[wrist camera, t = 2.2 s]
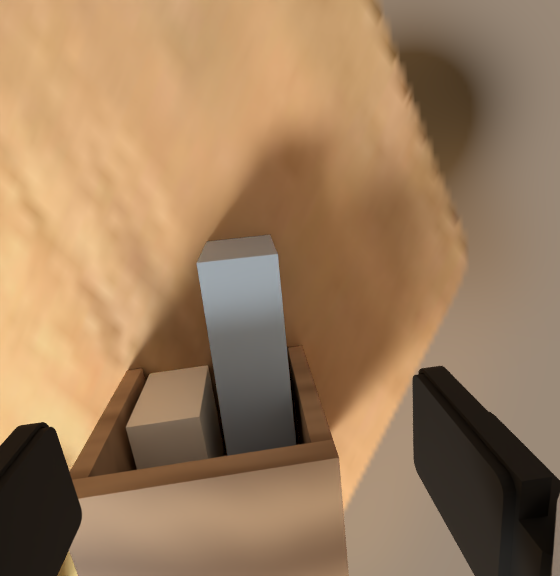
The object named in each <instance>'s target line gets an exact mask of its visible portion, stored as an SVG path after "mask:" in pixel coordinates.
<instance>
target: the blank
mask: <svg viewBox="0 0 560 576" xmlns="http://www.w3.org/2000/svg"><path fill="white" fill-rule="evenodd" d="M197 269H198V275H199V281H200V288H201V294H202V300H203V306H204V313H205V319H206V325H207V331H208V338H209V344H210V350H211V357H212V363H213V369H214V375H215V382H216V388H217V394H218V400H219V407H220V413H221V419H222V425H223V432H224V438H225V444H226V450H227V456H229V455H236V454H242V453H248V452H255V451H261V450H268V449H274V448H281V447H287V446H294V445H296V437H295V427H294V417H293V406H292V396H291V386H290V375H289V365H288V355H287V344H286V334H285V324H284V313H283V303H282V292H281V282H280V272H279V261H278V253H277V251H276V248H275V246H274V243H273V241H272V238H271V236H270V235H262V236H253V237H243V238H234V239H225V240H215V241H207V242H206V244H205V246H204V248H203V250H202V252H201V255H200V257H199V259H198V261H197Z"/></svg>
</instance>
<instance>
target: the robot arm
mask: <svg viewBox="0 0 560 576" xmlns="http://www.w3.org/2000/svg"><path fill="white" fill-rule="evenodd" d="M413 446H414V464H415V467H416V470H417V473H418V475H419V477H420V478H421V480H422V482H423V484H424V486H425V487H426V489H427V491H428V493H429V495H430V496H431V498H432V500H433V502H434V504H435V505H436V507H437V509H438V511H439V512H440V514H441V516H442V518H443V520H444V521H445V523H446V525H447V527H448V529H449V530H450V532H451V534H452V536H453V537H454V539H455V541H456V543H457V545H458V546H459V548H460V550H461V552H462V554H463V555H464V557H465V559H466V561H467V563H468V564H469V566H470V568H471V570H472V571H473V573H474V575H475V576H560V480H559V479H558V478H557V477H556V476H555V475H554V474H553V473H552V472H551V471H550V470H549V469H548V468H547V467H546V466H545V465H544V464H543V463H542V462H541V461H540V460H539V459H538V458H537V457H536V456H535V455H534V454H533V453H532V452H531V451H530V450H529V449H528V448H527V447H526V446H525V445H524V444H523V443H522V442H521V441H520V440H519V439H518V438H517V437H516V436H515V435H514V434H513V433H512V432H511V431H510V430H509V429H508V428H507V427H506V426H505V425H504V424H503V423H502V422H500V420H499V419H498V418H497V417H496V416H495V415H493V414H492V413H491V412H488V411H487V410H486V409H485V408H484V407H483V406H482V405H481V404H480V403H479V402H478V401H477V400H476V399H475V398H474V397H473V396H472V395H471V394H470V393H469V392H468V391H467V390H466V389H465V388H464V387H463V386H462V385H461V384H460V383H459V382H458V381H457V380H456V379H455V378H454V377H453V375H451V374H450V372H449V371H448V370H447V369H446V368H445V367H443V366H436V367H430V368H422V369H420V370H419V374H418V375H414V376H413ZM81 520H82V509H81V506H80V503H79V500H78V497H77V494H76V491H75V487H74V484H73V481H72V478H71V475H70V472H69V469H68V466H67V463H66V460H65V457H64V454H63V451H62V448H61V445H60V442H59V439H58V436H57V433H56V430H55V429H54V428H53V427H49V426H48V425H47V424H46V423H44V422H41V423H34V424H27V425H21V426H18V427H17V428H16V429H15V430H14V431H13V432H12V433H11V434H10V435H9V437H8V438H7V439H6V440H5V441H4V442H3V443H2V445H1V446H0V576H57V575H58V572H59V570H60V568H61V566H62V564H63V562H64V559H65V557H66V555H67V553H68V551H69V549H70V546H71V544H72V542H73V540H74V538H75V536H76V534H77V531H78V529H79V527H80V524H81Z"/></svg>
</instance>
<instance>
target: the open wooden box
mask: <svg viewBox="0 0 560 576" xmlns="http://www.w3.org/2000/svg"><path fill="white" fill-rule="evenodd" d="M288 354H289V363H290V371H291V380H292V388H293V397H294V405H295V414H296V422H297V431H298V439H299V444H296V445H294V446H287V447H281V448H274V449H268V450H261V451H255V452H248V453H242V454H236V455H229V456H227V455H223V457H216V458H210V459H203V460H197V461H190V462H184V463H177V464H171V465H165V466H158V467H152V468H145V469H139V470H137V468H136V464H135V460H134V457H133V453H132V449H131V446H130V442H129V438H128V434H127V431H126V426H127V423H128V421H129V419H130V417H131V414H132V412H133V410H134V408H135V406H136V403H137V401H138V399H139V397H140V394H141V392H142V390H143V388H144V385H145V383H146V382H145V378H144V374H143V370H142V368H140V369H133V370H127V372H126V374H125V375H124V377H123V379H122V381H121V382H120V384H119V386H118V388H117V389H116V391H115V393H114V395H113V396H112V398H111V400H110V402H109V404H108V405H107V407H106V409H105V411H104V412H103V414H102V416H101V418H100V419H99V421H98V423H97V425H96V426H95V428H94V430H93V432H92V433H91V435H90V437H89V439H88V441H87V442H86V444H85V446H84V448H83V449H82V451H81V453H80V455H79V456H78V458H77V460H76V462H75V463H74V465H73V467H72V469H71V471H70V475H71V478H72V481H73V484H74V487H75V491H76V494H77V497H78V500H79V503H80V506H81V509H82V520H81V524H80V527H79V529H78V531H77V534H76V536H75V538H74V540H73V542H72V544H71V546H70V549H69V551H70V554H71V557H72V560H73V562H74V565H75V568H76V571H77V574H78V576H349V575H348V562H347V549H346V537H345V525H344V513H343V501H342V489H341V477H340V465H339V456H338V453H337V450H336V447H335V444H334V441H333V438H332V435H331V432H330V429H329V426H328V423H327V420H326V417H325V414H324V411H323V408H322V405H321V402H320V399H319V396H318V393H317V390H316V387H315V384H314V380H313V377H312V374H311V371H310V368H309V365H308V362H307V359H306V356H305V353H304V350H303V347H302V346H295V347H288Z"/></svg>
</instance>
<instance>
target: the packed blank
mask: <svg viewBox="0 0 560 576" xmlns="http://www.w3.org/2000/svg"><path fill="white" fill-rule="evenodd" d="M126 431H127V434H128V438H129V442H130V446H131V449H132V453H133V457H134V460H135V464H136V468H137V470H139V469H145V468H152V467H158V466H165V465H171V464H177V463H184V462H190V461H197V460H203V459H210V458H216V457H223V453H224V448H223V442H222V437H221V431H220V426H219V421H218V415H217V410H216V405H215V399H214V394H213V389H212V383H211V378H210V372H209V367H208V365H206V366H199V367H192V368H185V369H178V370H171V371H164V372H157V373H150V374H149V376H148V379H147V381H146V383H145V385H144V388H143V390H142V392H141V394H140V397H139V399H138V401H137V403H136V406H135V408H134V410H133V412H132V414H131V417H130V419H129V421H128V423H127V426H126Z"/></svg>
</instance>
